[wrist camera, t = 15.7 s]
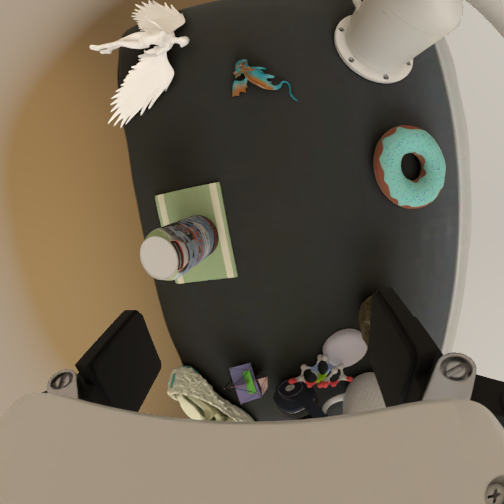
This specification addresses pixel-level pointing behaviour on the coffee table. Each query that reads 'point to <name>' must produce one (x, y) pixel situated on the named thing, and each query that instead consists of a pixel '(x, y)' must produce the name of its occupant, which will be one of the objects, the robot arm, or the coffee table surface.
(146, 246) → the beverage can
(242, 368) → the green polyhedron model
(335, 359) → the white pebble
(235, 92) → the dragon figurine
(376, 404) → the mug
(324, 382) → the molecular model
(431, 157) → the donut
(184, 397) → the ballet flat
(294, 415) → the earphone
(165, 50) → the figurine
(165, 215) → the towel mat
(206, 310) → the coffee table surface
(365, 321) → the cup
